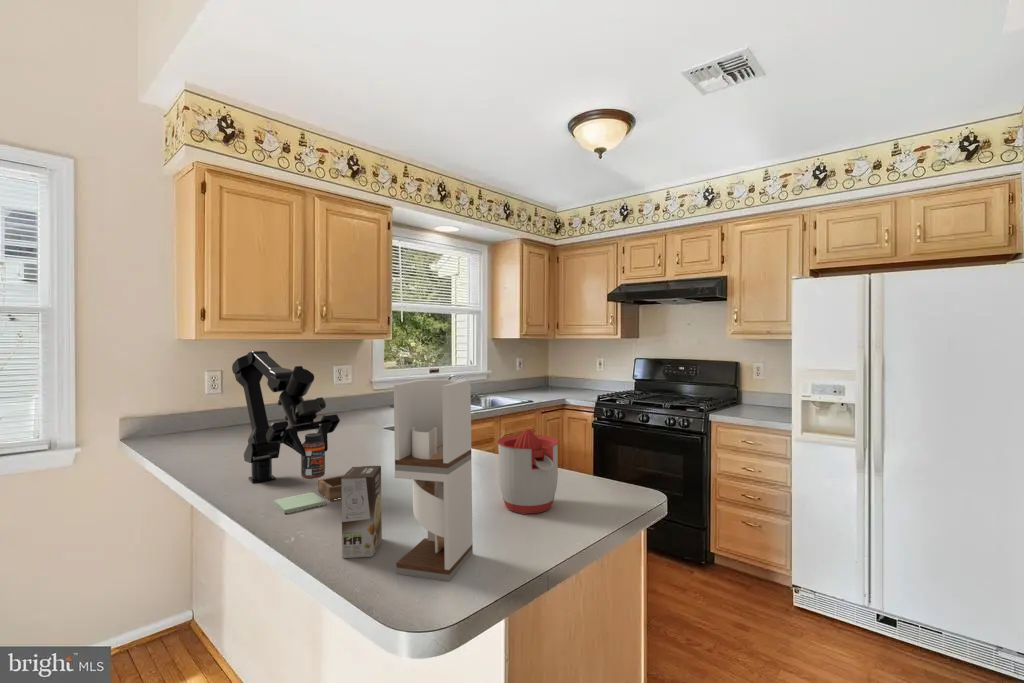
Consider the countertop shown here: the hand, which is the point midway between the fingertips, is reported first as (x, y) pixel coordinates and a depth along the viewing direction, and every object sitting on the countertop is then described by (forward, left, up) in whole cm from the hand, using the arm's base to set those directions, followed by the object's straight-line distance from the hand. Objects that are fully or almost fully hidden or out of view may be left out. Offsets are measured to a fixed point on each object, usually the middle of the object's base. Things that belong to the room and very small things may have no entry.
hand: (315, 452), depth 131 cm
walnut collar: (-3, +8, -13) cm, 16 cm away
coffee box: (+36, -2, -13) cm, 38 cm away
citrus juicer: (+41, +40, -13) cm, 59 cm away
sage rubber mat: (-1, -4, -13) cm, 14 cm away
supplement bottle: (-1, 0, -7) cm, 7 cm away
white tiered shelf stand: (+52, +6, -13) cm, 54 cm away
